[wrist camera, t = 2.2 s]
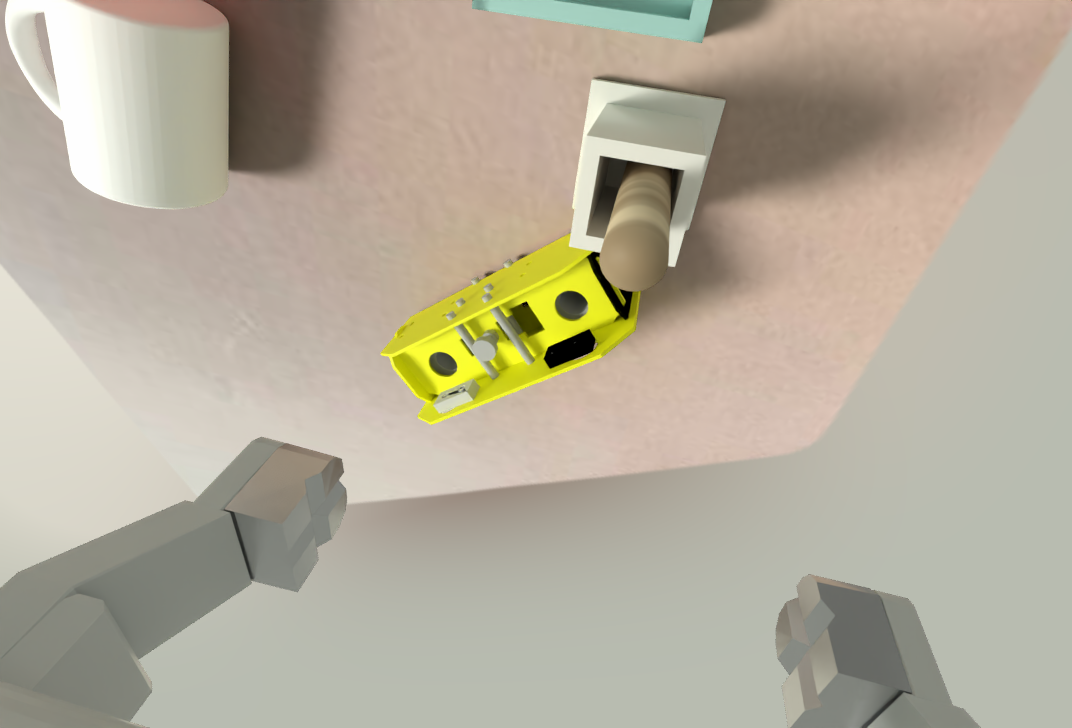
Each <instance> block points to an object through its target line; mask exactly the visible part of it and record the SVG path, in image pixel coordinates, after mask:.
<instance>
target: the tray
mask: <svg viewBox="0 0 1072 728" xmlns="http://www.w3.org/2000/svg"><path fill="white" fill-rule="evenodd" d="M712 1H713V0H473V2H472V9H478V10H485V11H492V12H498V13H505V14H512V15H518V16H525V17H532V18H538V19H545V20H552V21H558V22H565V23H572V24H578V25H585V26H591V27H598V28H605V29H611V30H618V31H625V32H631V33H638V34H645V35H651V36H658V37H665V38H671V39H678V40H685V41H691V42H698V43H702V41H703V37H704V33H705V29H706V25H707V21H708V17H709V13H710V9H711V5H712Z"/></svg>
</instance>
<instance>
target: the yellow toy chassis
mask: <svg viewBox="0 0 1072 728" xmlns="http://www.w3.org/2000/svg"><path fill="white" fill-rule="evenodd" d="M570 236H571V233H570V234H568V235H566V236H564V237H562V238H560V239H558V240H556V241H554V242H552V243H550V244H549V245H547V246H545V247H543V248H541V249H539V250H537V251H535V252H533V253H531V254H530V255H528V256H526V257H524V258H522V259H520V260H518V261H516V262H514V263H513V262H512V261H511V259H509V260H507V261H506V262H504V263H503V264H504V266H505V268H503V269H501V270H499V271H497V272H495V273H493V274H491V275H490V276H488V277H486V278H484V279H482V280H480V279H479V278H478V276H477V277H475V278H473V279H472V280H471V282H472V285H471V286H469V287H467V288H465V289H463V290H461V291H459V292H457V293H455V294H453V295H451V296H450V297H448V298H446V299H444V300H442V301H440V302H438V303H436V304H434V305H432V306H431V307H429V308H427V309H425V310H423V311H421V312H419V313H417V314H415V315H413V316H411V317H410V318H409V319H408V320H407V322H406V323H405V324H404V325H403V326H401V327H400V328H399V329H398V331H397V332H396V333H395V336H394V337H393V339H392V340H391V341H390V342H389V343H388V345H387V346H386V347H385V348H384V349H383V351H382V352H381V353H380V354H381V355H382V356H389V358H390V361H391V364H392V367H393V369H394V370H395V371H396V372H397V374H398V375H399V376H400V377H401V379H402V380H403V381H404V382H405V383H406V385H407V386H408V387H409V388H410V390H411V391H412V392H413V393H414V394H415V396H416V397H417V398H419V399H422V400H424V401H426V403H425V405H424V406H423V408H422V409H421V411H420V413H419V414H418V416H417V417H418V418H419V419H421V420H423V421H425V422H427V423H429V424H431V425H432V424H435V423H437V422H440V421H442V420H445V419H448V418H450V417H453V416H455V415H458V414H460V413H463V412H465V411H468V410H470V409H473V408H475V407H478V406H480V405H483V404H485V403H488V402H490V401H493V400H496V399H498V398H501V397H503V396H506V395H508V394H511V393H513V392H516V391H518V390H521V389H523V388H526V387H528V386H531V385H533V384H536V383H538V382H541V381H544V380H546V379H549V378H551V377H554V376H556V375H559V374H561V373H564V372H566V371H569V370H571V369H574V368H576V367H579V366H581V365H584V364H586V363H589V362H592V361H594V360H597V359H599V358H602V357H603V356H604V355H606V354H607V353H608V352H609V351H611V350H612V349H613V348H614V347H616V346H617V345H618V344H619V343H620V342H622V341H623V340H624V339H625V338H627V337H628V336H629V335H630V334H632V333H633V332H634V331H635V330H636V323H637V316H638V308H639V301H640V294H641V291H626V290H622V289H619V288H617V287H615V286H614V285H612V284H611V283H610V282H609V281H608V280H607V279H606V278H605V276H604V275H603V273H602V271H601V267H600V261H599V258H600V253H599V252H594V251H589V250H584V249H579V248H574V247H569V242H570ZM526 301H527V303H528V304H529V305H528V306H526V307H523V305H522V303H524V302H526ZM595 343H598V344H597V346H596V348H595V349H594V350H593V348H594V344H595ZM588 353H590V354H588ZM586 354H588V355H587V356H585V357H583V358H581V359H578V360H574V359H576V358H578V357H581V356H583V355H586ZM452 408H454V409H452ZM450 409H452V410H451V411H449V412H447V413H444V414H443V413H442V412H445V411H447V410H450Z"/></svg>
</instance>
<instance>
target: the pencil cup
mask: <svg viewBox="0 0 1072 728" xmlns="http://www.w3.org/2000/svg"><path fill="white" fill-rule="evenodd" d="M725 102H726V100H725V99H720V98H714V97H708V96H702V95H695V94H689V93H683V92H677V91H671V90H664V89H658V88H652V87H646V86H639V85H633V84H627V83H621V82H615V81H608V80H602V79H596V78H593V79H592V82H591V88H590V95H589V101H588V108H587V114H586V121H585V127H584V133H583V140H582V146H581V153H580V159H579V166H578V172H577V179H576V185H575V191H574V198H573V204H572V209H575V211H574V217H573V223H572V230H571V236H570V242H569V247H574V248H579V249H584V250H589V251H594V252H599V253H600V252H601V248H602V245H603V242H604V238H605V235H606V232H607V228H608V225H609V221H610V218H611V215H612V211H613V208H614V204H615V201H616V198H617V194H618V191H619V188H620V184H621V181H622V177H623V174H624V171H625V167H626V164H627V161H628V160H629V161H634V162H640V163H646V164H651V165H657V166H663V167H669V168H672V182H671V209H670V236H669V261H668V266H671V267H675V265H676V261H677V258H678V254H679V251H680V247H681V244H682V240H683V237H684V233H685V230H689V228H690V224H691V221H692V217H693V214H694V210H695V207H696V203H697V200H698V196H699V193H700V189H701V186H702V182H703V179H704V175H705V172H706V168H707V165H708V161H709V158H710V154H711V151H712V147H713V144H714V140H715V137H716V134H717V130H718V127H719V123H720V120H721V116H722V113H723V109H724V106H725Z"/></svg>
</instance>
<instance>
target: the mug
mask: <svg viewBox="0 0 1072 728" xmlns="http://www.w3.org/2000/svg"><path fill="white" fill-rule="evenodd" d="M40 12H44V13H45V19H46V25H47V31H48V36H49V42H50V48H51V54H52V60H53V66H54V71H55V77H56V83H57V85H56V84H55V82H54V81H53V79H52V77H51V75H50V73H49V71H48V69H47V67H46V64H45V61H44V58H43V55H42V52H41V48H40V44H39V40H38V36H37V31H36V24H35V17H36V14H37V13H40ZM5 24H6V32H7V36H8V40H9V43H10V46H11V49H12V51H13V54H14V56H15V58H16V60H17V62H18V64H19V66H20V68H21V69H22V71H23V73H24V75H25V76H26V78H27V79H28V81H29V83H30V84H31V86H32V87H33V88H34V90H35V91H36V93H37V94H38V95H39V97H40V98H41V99H42V100H43V102H44V103H45V104H46V105H47V106H48V107H49V108H50V109H51V111H52V112H53V113H55V114H56V115H57V116H58V117H59V118H60V119H61V120H63V124H64V130H65V136H66V141H67V147H68V153H69V159H70V165H71V170H72V173H73V175H74V176H75V178H76V179H77V180H78V181H79V182H80V183H81V184H82V185H84V186H85V187H86V188H88V189H89V190H91V191H93V192H95V193H97V194H99V195H101V196H103V197H106V198H109V199H111V200H114V201H118V202H121V203H125V204H129V205H134V206H140V207H147V208H157V209H184V208H193V207H198V206H202V205H206V204H209V203H212V202H214V201H216V200H218V199H219V198H221V197H222V196H223V195H224V194H225V192H226V191H227V188H228V146H229V23H228V20H227V19H226V17H225V16H224V15H223V14H222V13H221V12H220V11H219V10H217V9H216V8H214V7H213V6H211V5H210V4H208V3H206V2H204V1H202V0H8V3H7V7H6V14H5Z"/></svg>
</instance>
